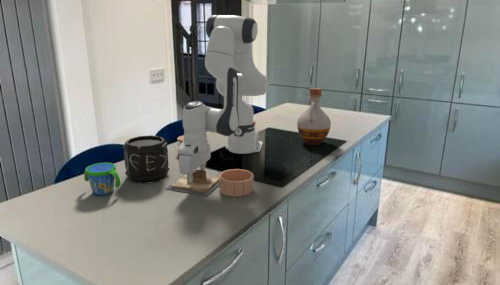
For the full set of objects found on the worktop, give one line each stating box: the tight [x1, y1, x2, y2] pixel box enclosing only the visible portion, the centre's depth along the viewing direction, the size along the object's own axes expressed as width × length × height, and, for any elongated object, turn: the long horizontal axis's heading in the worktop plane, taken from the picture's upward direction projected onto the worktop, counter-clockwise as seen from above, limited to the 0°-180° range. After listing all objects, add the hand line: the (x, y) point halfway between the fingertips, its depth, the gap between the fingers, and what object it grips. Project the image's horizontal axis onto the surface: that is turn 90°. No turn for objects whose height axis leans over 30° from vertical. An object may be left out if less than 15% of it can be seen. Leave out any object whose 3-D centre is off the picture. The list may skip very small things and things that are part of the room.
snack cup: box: [83, 162, 121, 197], centre depth 141 cm, size 16×10×10 cm
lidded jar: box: [176, 134, 184, 148], centre depth 186 cm, size 11×11×9 cm
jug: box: [296, 87, 332, 146], centre depth 198 cm, size 20×18×30 cm
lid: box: [170, 169, 219, 193], centre depth 149 cm, size 15×15×5 cm
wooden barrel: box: [122, 134, 170, 185], centre depth 155 cm, size 18×18×16 cm
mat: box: [165, 174, 219, 197], centre depth 150 cm, size 18×18×1 cm
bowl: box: [218, 168, 255, 198], centre depth 144 cm, size 13×13×6 cm
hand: (196, 176), depth 149 cm, fingers open, 8 cm apart
